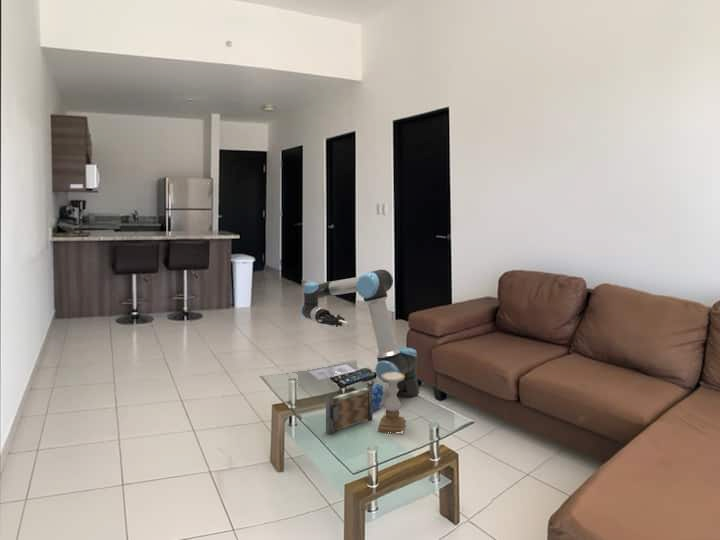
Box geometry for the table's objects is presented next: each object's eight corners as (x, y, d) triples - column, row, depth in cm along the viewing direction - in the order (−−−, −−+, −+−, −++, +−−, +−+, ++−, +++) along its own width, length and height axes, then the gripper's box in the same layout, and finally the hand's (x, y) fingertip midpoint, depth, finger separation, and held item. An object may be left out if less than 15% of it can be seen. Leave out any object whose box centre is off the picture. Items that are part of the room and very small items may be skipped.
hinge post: (370, 417, 239) (370, 379, 237) (374, 419, 237) (375, 381, 234) (364, 419, 238) (365, 381, 235) (369, 421, 235) (369, 383, 232)
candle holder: (403, 434, 223) (404, 381, 219) (377, 432, 225) (378, 379, 221) (406, 423, 234) (407, 372, 230) (381, 421, 236) (382, 370, 232)
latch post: (334, 429, 227) (334, 392, 225) (339, 433, 224) (339, 395, 222) (326, 432, 225) (325, 394, 222) (330, 435, 222) (330, 397, 219)
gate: (365, 418, 237) (365, 387, 235) (368, 419, 235) (368, 389, 233) (331, 429, 226) (331, 397, 224) (334, 430, 224) (334, 399, 222)
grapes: (374, 402, 256) (374, 379, 254) (386, 405, 252) (386, 381, 250) (362, 411, 246) (362, 387, 244) (375, 414, 242) (375, 390, 240)
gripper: (331, 320, 275) (358, 330, 256) (310, 324, 267) (336, 335, 249) (331, 306, 274) (358, 315, 255) (310, 310, 266) (336, 319, 248)
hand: (347, 325), depth 252 cm, fingers closed
